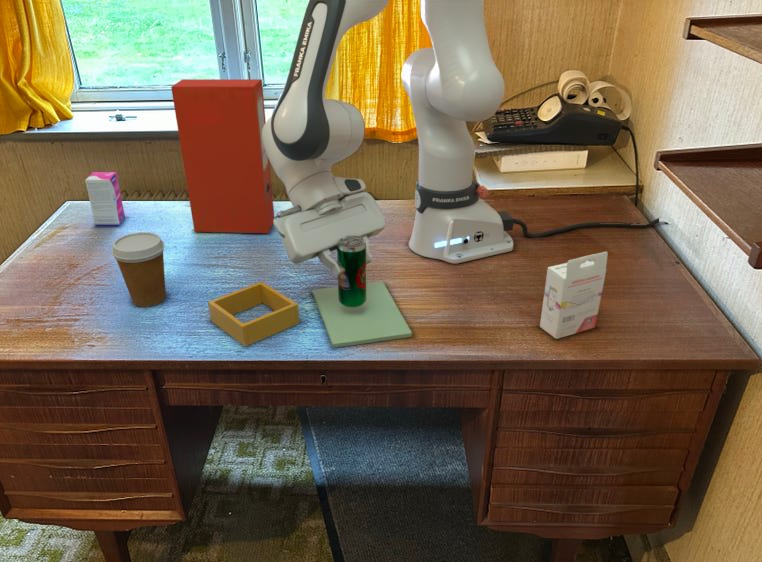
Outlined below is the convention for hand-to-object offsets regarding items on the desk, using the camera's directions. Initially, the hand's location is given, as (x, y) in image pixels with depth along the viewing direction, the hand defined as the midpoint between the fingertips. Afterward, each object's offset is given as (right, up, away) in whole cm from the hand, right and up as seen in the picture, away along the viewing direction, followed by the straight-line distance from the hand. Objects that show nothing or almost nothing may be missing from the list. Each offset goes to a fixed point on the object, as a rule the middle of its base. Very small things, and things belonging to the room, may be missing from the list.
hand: (354, 268), depth 118 cm
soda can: (0, -6, +4) cm, 7 cm away
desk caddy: (-18, -9, +4) cm, 21 cm away
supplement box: (-59, +17, +45) cm, 76 cm away
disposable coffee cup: (-40, -4, +13) cm, 42 cm away
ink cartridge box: (+37, -11, 0) cm, 39 cm away
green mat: (+1, -8, +6) cm, 10 cm away
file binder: (-28, +15, +41) cm, 52 cm away
